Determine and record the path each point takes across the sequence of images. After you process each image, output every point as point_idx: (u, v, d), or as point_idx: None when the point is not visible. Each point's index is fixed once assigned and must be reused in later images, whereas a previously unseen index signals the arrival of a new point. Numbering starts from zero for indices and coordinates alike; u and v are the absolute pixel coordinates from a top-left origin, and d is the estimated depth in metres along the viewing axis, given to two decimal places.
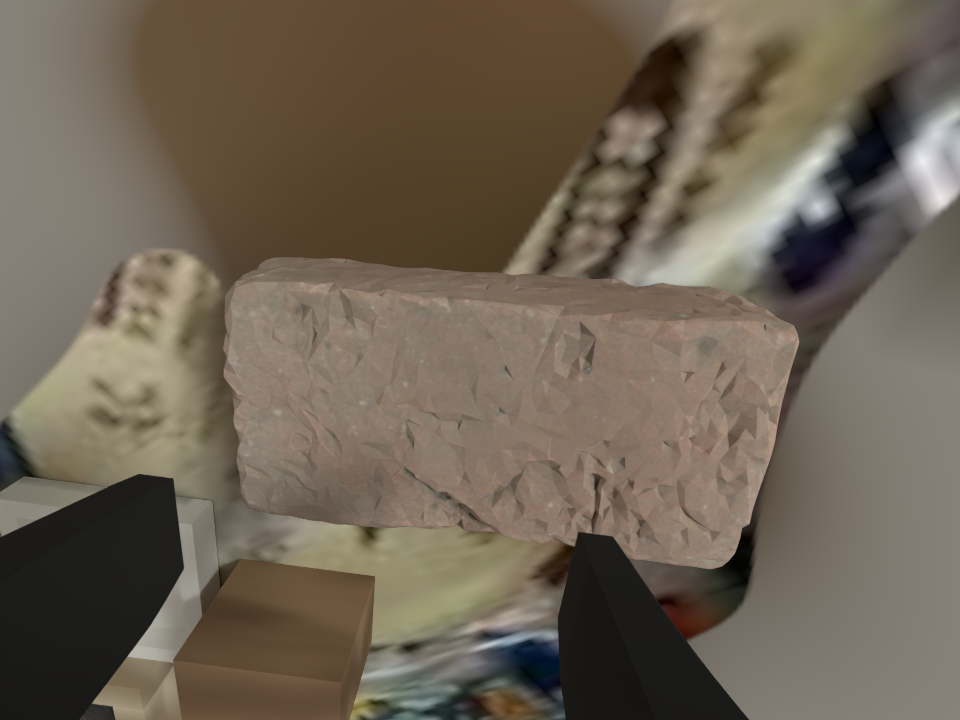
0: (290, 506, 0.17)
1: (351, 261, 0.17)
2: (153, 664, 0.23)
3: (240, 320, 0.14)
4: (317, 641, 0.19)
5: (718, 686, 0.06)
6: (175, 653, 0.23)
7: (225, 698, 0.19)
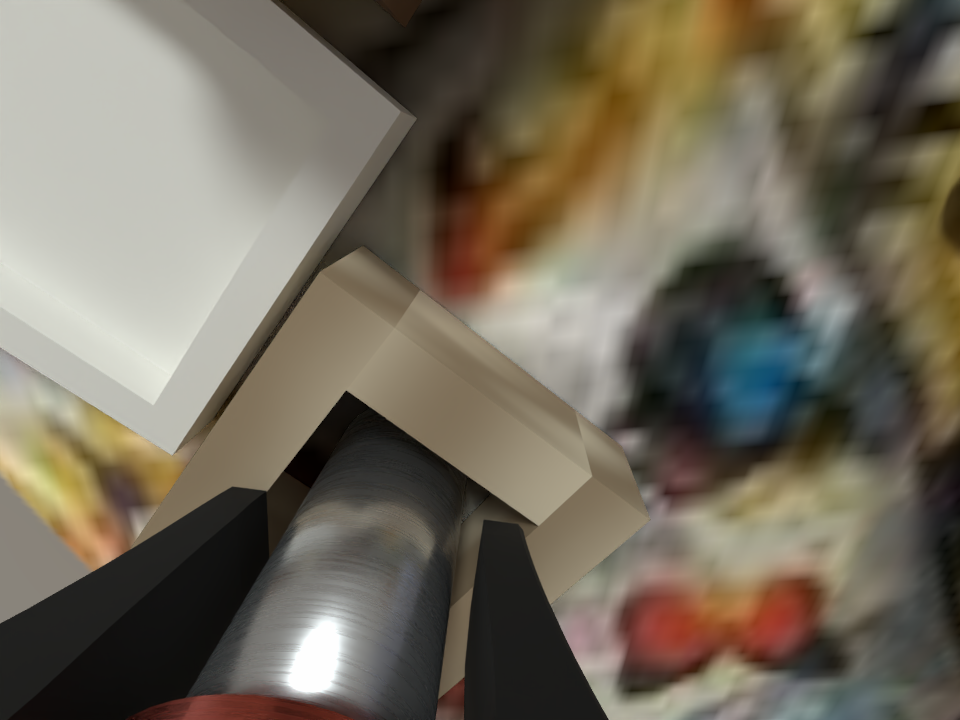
0: None
1: None
2: None
3: None
4: None
5: (572, 666, 0.06)
6: (318, 160, 0.08)
7: None
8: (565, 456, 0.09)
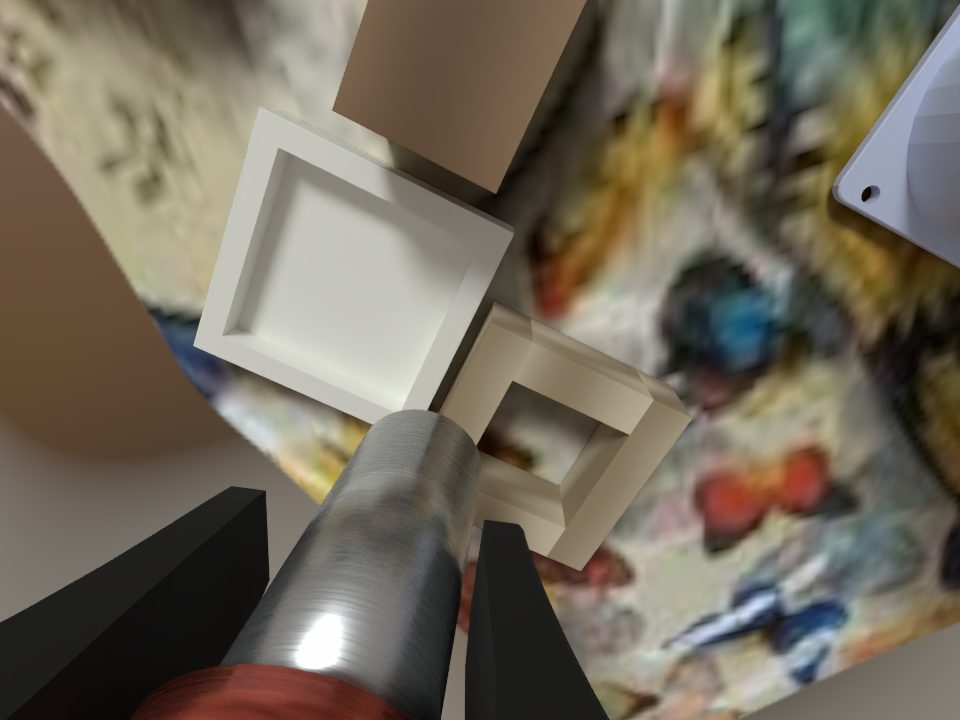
0: None
1: None
2: (491, 315, 0.16)
3: None
4: None
5: (573, 667, 0.06)
6: (475, 266, 0.16)
7: (433, 63, 0.11)
8: (636, 391, 0.16)
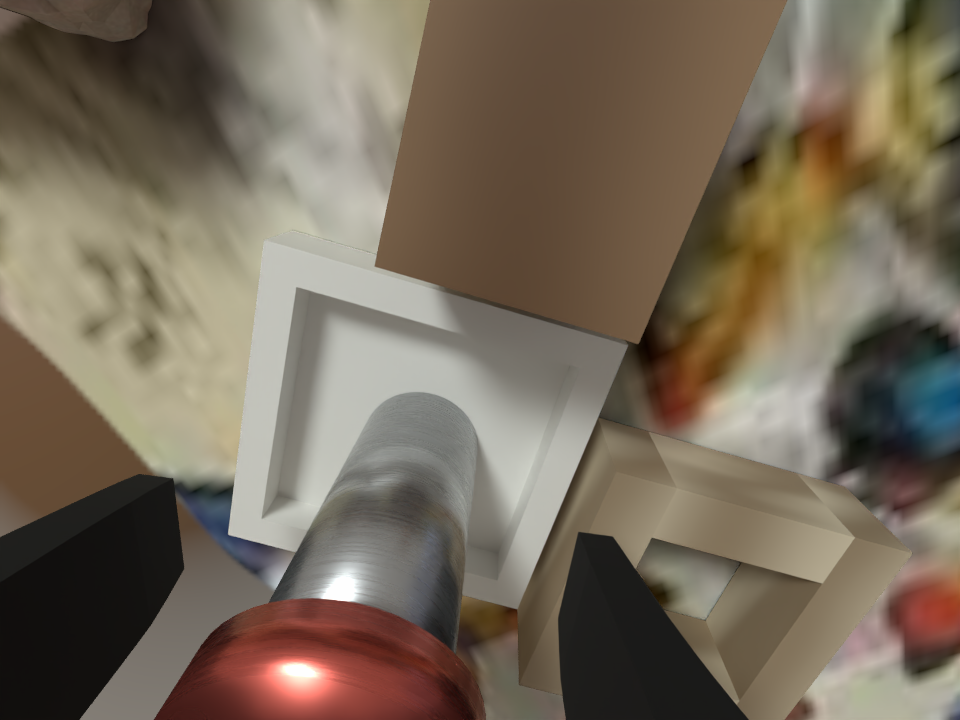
0: None
1: None
2: (605, 448, 0.12)
3: None
4: None
5: (718, 686, 0.06)
6: (578, 393, 0.12)
7: (523, 175, 0.07)
8: (829, 530, 0.11)
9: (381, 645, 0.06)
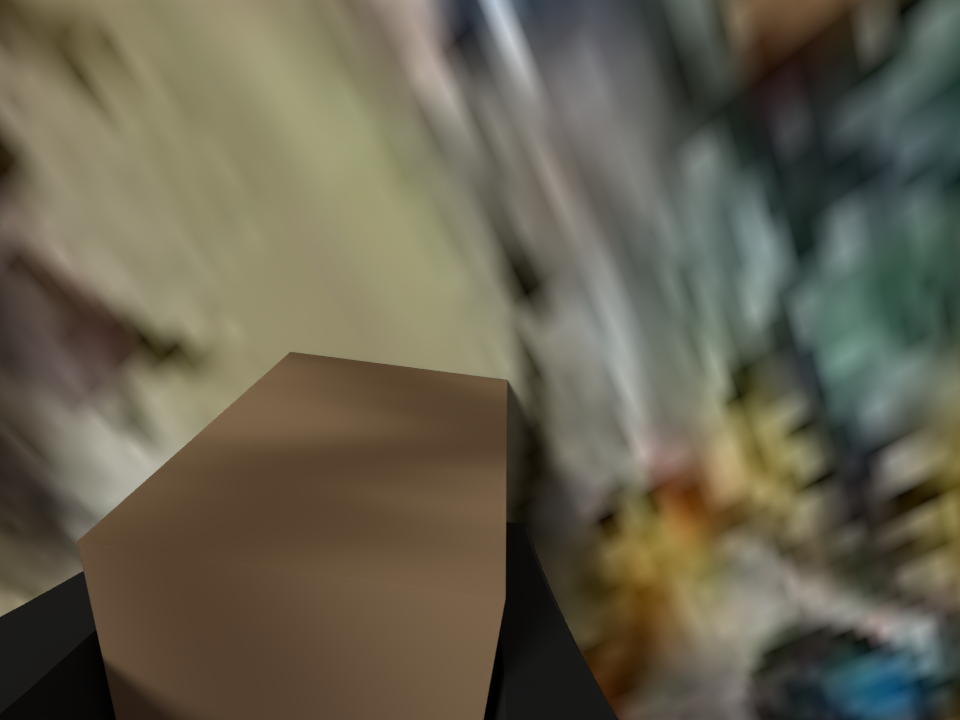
0: None
1: None
2: None
3: None
4: None
5: (582, 668, 0.06)
6: None
7: None
8: None
9: None
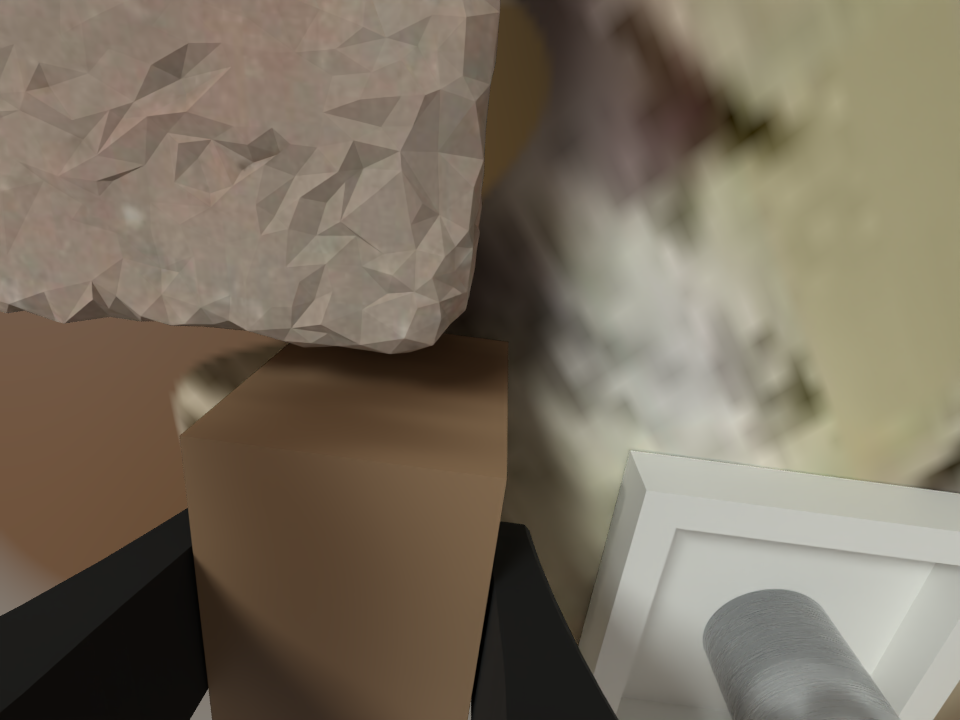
0: (416, 232, 0.06)
1: None
2: None
3: None
4: None
5: (582, 668, 0.06)
6: None
7: (316, 692, 0.08)
8: None
9: None
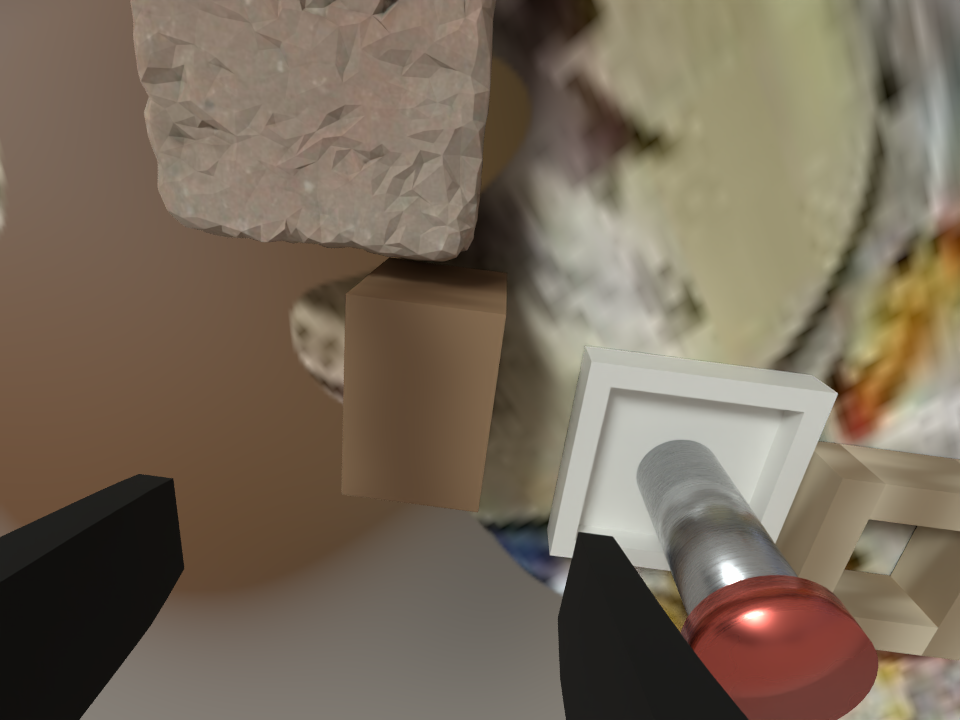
0: (448, 195, 0.13)
1: None
2: (821, 462, 0.18)
3: (196, 208, 0.13)
4: None
5: (718, 686, 0.06)
6: (803, 428, 0.17)
7: (402, 449, 0.14)
8: None
9: (814, 593, 0.11)
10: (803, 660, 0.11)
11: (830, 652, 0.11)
